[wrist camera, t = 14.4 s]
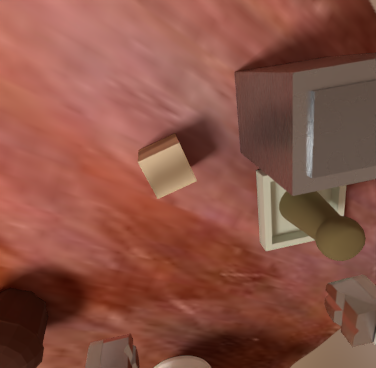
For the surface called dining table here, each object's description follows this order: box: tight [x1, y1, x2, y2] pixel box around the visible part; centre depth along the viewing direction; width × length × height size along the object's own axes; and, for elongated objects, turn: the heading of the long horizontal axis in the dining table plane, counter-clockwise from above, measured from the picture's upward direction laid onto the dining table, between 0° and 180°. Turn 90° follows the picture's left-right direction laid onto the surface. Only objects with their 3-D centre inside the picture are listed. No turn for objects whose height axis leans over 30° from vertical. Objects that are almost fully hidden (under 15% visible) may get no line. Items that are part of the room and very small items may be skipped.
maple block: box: [138, 133, 197, 199], centre depth 33 cm, size 5×5×5 cm
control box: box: [235, 53, 376, 196], centre depth 29 cm, size 10×12×14 cm
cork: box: [279, 191, 366, 261], centre depth 35 cm, size 6×6×11 cm
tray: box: [256, 170, 346, 251], centre depth 40 cm, size 12×12×2 cm
